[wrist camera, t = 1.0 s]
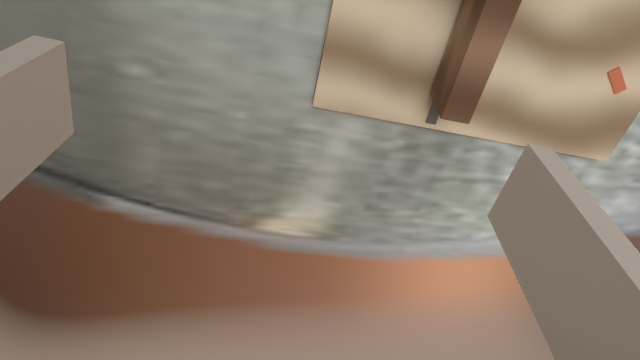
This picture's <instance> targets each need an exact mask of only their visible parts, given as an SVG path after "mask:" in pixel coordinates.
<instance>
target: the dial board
mask: <svg viewBox="0 0 640 360" xmlns="http://www.w3.org/2000/svg"><path fill="white" fill-rule="evenodd" d="M463 2H464V0H333V1H332V6H331V11H330V16H329V22H328V27H327V32H326V37H325V42H324V47H323V52H322V57H321V63H320V68H319V73H318V78H317V83H316V88H315V93H314V98H313V107H318V108H323V109H328V110H334V111H339V112H344V113H350V114H355V115H360V116H366V117H371V118H376V119H382V120H387V121H392V122H398V123H403V124H408V125H414V126H419V127H424V128H430V129H435V130H441V131H446V132H451V133H457V134H462V135H467V136H473V137H478V138H483V139H489V140H494V141H499V142H505V143H510V144H515V145H521V146H527V144H532V145H537V146H541V147H546V148H551V149H553V151H554V152H558V153H564V154H569V155H574V156H580V157H585V158H590V159H596V160H601V161H607V159H608V158H609V156H610V155H611V153H612V152H613V150H614V149H615V147H616V146H617V144H618V143H619V141H620V140H621V138H622V137H623V135H624V134H625V132H626V131H627V129H628V128H629V126H630V125H631V123H632V122H633V120H634V119H635V117H636V116H637V114H638V113H639V111H640V0H522V2H521V4H520V6H519V9H518V11H517V13H516V16H515V18H514V20H513V23H512V25H511V27H510V30H509V32H508V34H507V37H506V39H505V41H504V44H503V46H502V48H501V51H500V53H499V55H498V58H497V60H496V62H495V65H494V67H493V69H492V72H491V74H490V76H489V79H488V81H487V83H486V86H485V88H484V90H483V93H482V95H481V97H480V100H479V102H478V104H477V107H476V109H475V111H474V114H473V116H472V118H471V121H470V123H469V124H465V123H460V122H454V121H449V120H444V119H441V118H440V116H439V114H438V112H437V109H436V107H435V105H434V103H433V101H432V98H431V96H430V94H431V91H432V89H433V86H434V83H435V80H436V77H437V75H438V72H439V69H440V66H441V63H442V61H443V58H444V55H445V52H446V49H447V47H448V44H449V41H450V38H451V35H452V33H453V30H454V27H455V24H456V21H457V19H458V16H459V13H460V10H461V7H462V5H463Z"/></svg>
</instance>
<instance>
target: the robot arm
mask: <svg viewBox="0 0 640 360" xmlns="http://www.w3.org/2000/svg"><path fill="white" fill-rule="evenodd" d="M73 133H74V127H73V118H72V109H71V99H70V90H69V80H68V71H67V62H66V52H65V43H64V42H63V41H59V40H54V39H50V38H45V37H40V36H36V35H33V36H31V37H29V38H27V39H25V40H23V41H21V42H19V43H17V44H15V45H12V46H10V47H8V48H6V49H4V50H2V51H0V201H1V200H2V199H3V198H4V197H5V196H6V195H7V194H8V193H9V192H10V191H11V190H13V189H14V188H15V187H16V186H17V185H18V184H19V183H20V182H21V181H22V180H23V179H25V178H26V177H27V176H28V175H29V174H30V173H31V172H32V171H33V170H34V169H35V168H36V167H37V166H39V165H40V164H41V163H42V162H43V161H44V160H45V159H46V158H47V157H48V156H49V155H50V154H52V153H53V152H54V151H55V150H56V149H57V148H58V147H59V146H60V145H61V144H62V143H63V142H65V141H66V140H67V139H68V138H69V137H70V136H71V135H72V134H73ZM488 218H489V220H490V222H491V224H492V226H493V228H494V230H495V233H496V235H497V237H498V239H499V241H500V243H501V245H502V248H503V250H504V252H505V254H506V256H507V258H508V260H509V262H510V265H511V267H512V269H513V270H514V273H515V275H516V277H517V280H518V282H519V284H520V286H521V288H522V290H523V292H524V295H525V297H526V298H527V301H528V303H529V305H530V307H531V309H532V311H533V314H534V316H535V318H536V320H537V322H538V324H539V327H540V328H541V331H542V333H543V335H544V337H545V339H546V341H547V343H548V346H549V348H550V350H551V352H552V354H553V356H554V359H555V360H640V253H639V252H638V251H637V250H636V248H635V247H634V246H633V245H632V243H631V242H630V241H629V240H628V239H627V237H626V236H625V235H624V234H623V233H622V232H621V230H620V229H619V228H618V227H617V226H616V224H615V223H614V222H613V221H612V220H611V218H610V217H609V216H608V215H607V214H606V212H605V211H604V210H603V209H602V208H601V207H600V205H599V204H598V203H597V202H596V201H595V199H594V198H593V197H592V196H591V195H590V193H589V192H588V191H587V190H586V189H585V187H584V186H583V185H582V184H581V183H580V181H579V180H578V179H577V178H576V177H575V176H574V174H573V173H572V172H571V171H570V170H569V168H568V167H567V166H566V165H565V164H564V162H563V161H562V160H561V159H560V158H559V156H558V155H557V154H556V153H555V152H554V151H553V149H551V148H546V147H541V146H537V145H532V144H527V146H526V148H525V149H524V151H523V153H522V155H521V157H520V158H519V160H518V162H517V164H516V166H515V167H514V169H513V171H512V173H511V175H510V176H509V178H508V180H507V182H506V184H505V185H504V187H503V189H502V191H501V192H500V194H499V196H498V198H497V200H496V201H495V203H494V205H493V207H492V209H491V210H490V212H489V214H488Z"/></svg>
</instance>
